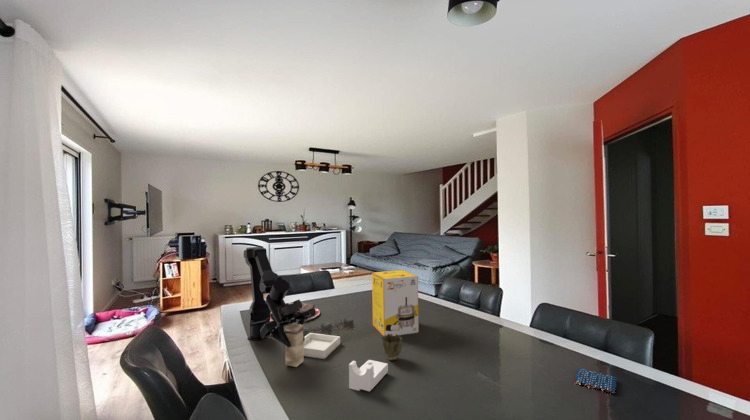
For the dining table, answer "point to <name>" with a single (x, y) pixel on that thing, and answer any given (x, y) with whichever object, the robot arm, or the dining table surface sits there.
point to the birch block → (294, 345)
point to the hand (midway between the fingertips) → (297, 343)
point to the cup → (392, 346)
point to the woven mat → (595, 380)
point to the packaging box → (395, 302)
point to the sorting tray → (319, 345)
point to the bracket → (366, 374)
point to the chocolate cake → (305, 306)
